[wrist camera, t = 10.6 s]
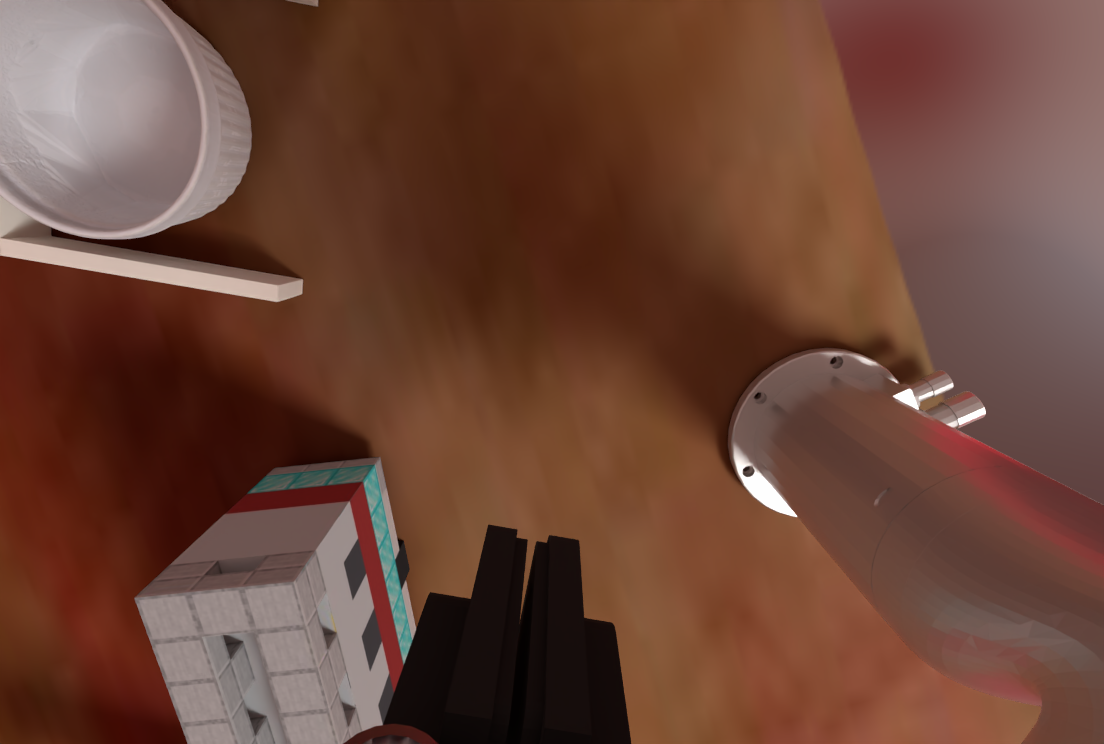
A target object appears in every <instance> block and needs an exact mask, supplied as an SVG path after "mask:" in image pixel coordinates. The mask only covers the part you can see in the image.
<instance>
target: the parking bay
mask: <svg viewBox="0 0 1104 744" xmlns="http://www.w3.org/2000/svg"><path fill="white" fill-rule="evenodd" d="M287 1H292V2H297V3H302V4H307V5H312V6H317V7H318V0H287ZM0 255H2V256H8V257H14V258H20V259H26V260H32V261H38V262H43V263H49V264H55V265H61V266H67V267H73V268H79V269H85V270H91V271H97V272H103V273H109V274H115V275H121V276H127V277H132V278H138V279H144V280H150V281H156V282H162V283H168V284H174V285H180V286H186V287H192V288H198V289H204V290H210V291H216V292H222V293H227V294H233V295H239V296H245V297H251V298H257V299H263V300H269V301H275V302H279V301H282V300H286V299H289V298H292V297H295V296H298V295H301V294H302V290H303V279H299V278H293V277H287V276H281V275H275V274H270V273H264V272H258V271H252V270H246V269H240V268H235V267H229V266H223V265H217V264H211V263H205V262H200V261H194V260H188V259H182V258H176V257H170V256H165V255H159V254H153V253H147V252H141V251H135V250H130V249H124V248H118V247H112V246H106V245H100V244H94V243H89V242H83V241H77V240H71V239H65V238H59V237H54V236H51V227H49V226H47V225H44V224H42V223H40V222H38V221H36V220H35V219H33V218H31V217H29V216H27V215H26V214H24V213H22V212H21V211H20V210H18V209H17V208H15V207H14V206H13V205H11V204H10V203H9V202H7V201H6V200H5V199H4V198H2V197H1V196H0Z"/></svg>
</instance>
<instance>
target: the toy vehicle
mask: <svg viewBox="0 0 1104 744" xmlns="http://www.w3.org/2000/svg"><path fill="white" fill-rule="evenodd" d="M408 572H409V564H408V559H407V554H406V550H405V545H404V541H398V540H397V536H396V531H395V526H394V521H393V516H392V512H391V507H390V502H389V497H388V492H387V488H386V483H385V478H384V473H383V469H382V464H381V459H380V457H374V458H365V459H355V460H346V461H336V462H327V463H317V464H308V465H298V466H289V467H279V468H274V469H273V470H272V471H271V472H270V473H268V474H267V475H266V476H265V477H264V478H263V479H262V480H261V481H260V482H259V483H258V484H257V485H256V486H254V487H253V488H252V489H251V490H250V491H249V492H248V493H247V494H246V495H245V496H244V497H243V498H241V499H240V500H239V501H238V502H237V503H236V504H235V505H234V506H233V507H232V508H231V509H230V510H229V511H227V512H226V513H225V514H224V515H223V516H222V517H221V518H220V519H219V520H218V521H217V522H216V523H214V524H213V525H212V526H211V527H210V528H209V529H208V530H207V531H206V532H205V533H204V534H203V535H202V536H200V537H199V538H198V539H197V540H196V541H195V542H194V543H193V544H192V545H191V546H190V547H189V548H188V549H186V550H185V551H184V552H183V553H182V554H181V555H180V556H179V557H178V558H177V559H176V560H175V561H173V562H172V563H171V564H170V565H169V566H168V567H167V568H166V569H165V570H164V571H163V572H162V573H161V574H159V575H158V576H157V577H156V578H155V579H154V580H153V581H152V582H151V583H150V584H149V585H148V586H146V587H145V588H144V589H143V590H142V591H141V592H140V593H139V594H138V595H137V596H136V597H135V601H136V604H137V607H138V609H139V612H140V615H141V618H142V620H143V623H144V626H145V628H146V631H147V634H148V637H149V639H150V642H151V645H152V648H153V650H154V653H155V656H156V658H157V661H158V664H159V667H160V669H161V672H162V675H163V677H164V680H165V683H166V686H167V688H168V691H169V694H170V697H171V699H172V702H173V705H174V707H175V710H176V713H177V716H178V718H179V721H180V724H181V727H182V729H183V732H184V735H185V737H186V740H187V743H188V744H343V743H345V742H346V741H348V740H349V739H350V738H352V737H353V736H354V735H356V734H357V733H359V732H362V731H364V730H367V729H369V728H372V727H374V726H380V725H383V723H384V720H385V717H386V714H387V711H388V708H389V706H390V703H391V700H392V697H393V694H394V691H395V688H396V686H397V683H398V680H399V677H400V674H401V671H402V668H403V666H404V663H405V660H406V657H407V654H408V651H409V649H410V646H411V643H412V640H413V637H414V634H415V631H416V626H415V622H414V617H413V612H412V607H411V603H410V598H409V593H408V588H407V583H406V577H407V574H408Z"/></svg>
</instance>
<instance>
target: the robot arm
mask: <svg viewBox="0 0 1104 744" xmlns="http://www.w3.org/2000/svg"><path fill="white" fill-rule="evenodd" d="M832 358H833V361H832V362H830V361H831V359H832ZM952 388H953V382H952V380H951V378H950V377H949V376H948V374H947V373H945V372H944V371H937V372H935V373H932V374H930V375H928V376H926V377H924V378H921V379H920V380H919V381H917V382H915V383H913V384H911V385H908V384H906V383H903V384H900V383H899V381H898V380H897V379H896V378H895V377H894V376H893V375H892V374H891V373H890V371H889V370H888V369H886V368H885V367H883V366H882V365H880V364H879V363H878V362H876V361H875V360H872V359H870V358H868V357H866V356H864V355H862V354H859V353H855V352H852V351H849V350H845V349H836V348H820V349H810V350H806V351H803V352H799V353H795V354H792V355H790V356H788V357H786V358H784V359H782V360H780V361H777V362H776V363H774V364H773V365H772V366H770V367H769V368H767V369H766V370H764V371H763V372H762V373H761V374H760V375H759V376H758V377H757V378H756V379H755V380H754V381H753V382H752V383H751V384H750V385H749V386H748V387H747V389H746V390H745V392H744V393H743V394H742V396H741V397H740V399H739V401H738V403H737V405H736V407H735V409H734V412H733V414H732V417H731V421H730V425H729V429H728V450H729V456H730V461H731V464H732V466H733V469H734V471H735V474H736V475H737V477H738V478H739V480H740V481H741V483H742V485H743V486H744V487H745V488H746V489H747V491H748V492H749V493H750V494H751V495H752V497H754V498H755V499H756V500H758V501H759V502H760V503H761V504H763V505H764V506H766V507H768V508H770V509H772V510H774V511H776V512H778V513H781V514H785V515H789V516H792V517H798V518H799V519H800V520H801V522H802V523H803V524H804V525H805V526H806V527H807V529H808V530H809V531H810V532H811V533H812V535H813V536H814V537H815V538H816V539H817V541H818V542H819V543H820V544H821V545H822V546H823V548H824V549H825V550H826V551H827V552H828V554H829V555H830V556H831V557H832V558H833V560H834V561H835V562H836V563H837V564H838V566H839V567H840V568H841V569H842V570H843V571H844V573H845V574H846V575H847V576H848V577H849V579H850V580H851V581H852V582H853V583H854V585H855V586H856V587H857V588H858V589H859V590H860V592H861V593H862V594H863V595H864V596H865V598H866V599H867V600H868V601H869V602H870V604H871V605H872V606H873V607H874V608H875V610H876V611H877V612H878V613H879V614H880V615H881V617H882V618H883V619H884V620H885V621H886V622H887V623H888V624H889V625H890V627H891V628H892V629H893V630H894V631H895V633H896V634H897V635H898V636H899V637H900V638H901V640H902V641H903V642H904V643H905V644H906V645H907V646H908V647H909V648H910V649H911V650H912V651H913V652H914V653H915V654H916V655H917V656H918V657H919V658H920V659H922V660H923V661H924V662H925V663H927V664H928V665H929V666H931V667H932V668H933V669H935V670H936V671H938V672H940V673H941V674H943V675H945V676H946V677H948V678H950V679H951V680H953V681H955V682H957V683H959V684H962V685H964V686H967V687H969V688H972V689H975V690H977V691H980V692H983V693H986V694H989V695H992V696H996V697H1000V698H1004V699H1008V700H1012V701H1016V702H1021V703H1025V704H1031V705H1036V706H1041V713H1040V715H1039V718H1038V720H1037V723H1036V724H1035V726H1034V727H1033V728H1032V730H1031V731H1030V733H1029V734H1028V735H1027V737H1026V738H1025V740H1024V741H1023V742H1022V744H1104V505H1103V504H1101V503H1098V502H1096V501H1094V500H1092V499H1090V498H1088V497H1087V496H1084V495H1083V494H1081V493H1079V492H1077V491H1075V490H1073V489H1071V488H1069V487H1067V486H1065V485H1063V484H1061V483H1059V482H1057V481H1055V480H1053V479H1051V478H1050V477H1048V476H1045V475H1043V474H1041V473H1039V472H1038V471H1036V470H1034V469H1032V468H1030V467H1028V466H1026V465H1024V464H1022V463H1020V462H1018V461H1016V460H1014V459H1012V458H1011V457H1009V456H1007V455H1005V454H1003V453H1001V452H999V451H997V450H995V449H993V448H991V447H989V446H987V445H985V444H984V443H982V442H980V441H978V440H976V439H974V438H972V437H970V436H968V435H966V434H964V433H962V432H960V431H958V430H956V429H955V428H960V427H962V426H964V425H966V424H969V423H971V422H973V421H976V420H978V419H980V418H982V417H984V416H985V408H984V406H983V404H982V403H981V401H980V400H979V399H978V398H977V397H976V396H975V395H974V394H972V393H971V392H967V391H965V392H962V393H960V394H958V395H956V396H953V397H951V398H949V399H947V400H945V401H942V402H940V403H939V404H938V405H937V406H935V407H932V408H930V409H928V410H926V411H923V410H921V409H919V408H918V407H919V406H920V402H921V401H924V400H926V399H928V398H930V397H935V396H937V395H939V394H942V393H944V392H946V391H948V390H951V389H952ZM758 392H759V395H758V396H757V397H754V396H755V395H756V394H757V393H758ZM746 466H747V467H746ZM745 467H746V468H745ZM744 468H745V469H744ZM516 537H517V529H511V528H505V527H499V526H494V525H488V528H487V532H486V537H485V541H484V545H483V550H482V554H481V558H480V562H479V567H478V571H477V575H476V580H475V584H474V588H473V592H472V597H471V599H467V598H461V597H455V596H449V595H443V594H437V593H431V592H430V594H429V595H428V598H427V600H426V603H425V606H424V609H423V611H422V614H421V617H420V620H419V623H418V626H417V629H416V631H415V634H414V637H413V640H412V643H411V646H410V649H409V651H408V654H407V657H406V660H405V663H404V666H403V668H402V671H401V674H400V677H399V680H398V683H397V686H396V688H395V691H394V694H393V697H392V700H391V703H390V706H389V708H388V711H387V714H386V717H385V720H384V723H383V725H380V726H374V727H372V728H369V729H367V730H364V731H362V732H359V733H357V734H356V735H354V736H353V737H352V738H350V739H349V740H348V741H346V742H345V743H343V744H631V738H630V731H629V724H628V716H627V709H626V702H625V695H624V688H623V680H622V673H621V666H620V659H619V652H618V645H617V637H616V631H615V627H614V625H613V623H611V622H605V621H599V620H593V619H587V618H584V609H583V594H582V578H581V562H580V547H579V540H575V539H569V538H563V537H557V536H552V535H549V537H548V541H547V543H544V542H538V541H537V542H536V545H535V550H534V555H533V560H532V565H531V570H530V575H529V580H528V585H527V590H526V594H525V599H524V604H523V609H522V614H521V619H520V613H521V602H522V592H523V582H524V572H525V562H526V552H527V541H528V540H527V539H521V538H516ZM519 623H520V624H519Z"/></svg>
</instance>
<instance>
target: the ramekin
mask: <svg viewBox="0 0 1104 744" xmlns="http://www.w3.org/2000/svg"><path fill="white" fill-rule="evenodd" d="M251 139H252V132H251V119H250V116H249V110H248V106H247V104H246V101H245V97H244V94H243V92H242V90H241V88H240V85H239V82H238V81H237V79H236V78H235V77H234V74H233V72H232V70H231V69H230V67H229V66H228V65H227V64H226V63H225V61H224V59H223V58H222V56H221V55H220V54H219V53H218V52H217V51H216V50H215V49H214V48H213V47H212V45H211V44H210V43H209V42H208V41H207V40H206V39H205V38H204V37H203V36H201V35H200V34H199V33H198V32H197V31H196V30H195V29H193V28H192V27H191V26H190V25H189V24H187V23H186V22H185V21H184V20H182V19H181V18H180V17H179V16H177V15H176V14H175V13H173V12H172V10H171V9H170V8H169V7H168V6H167V5H166V4H165V3H164V2H163V1H161V0H0V196H1V197H2V198H4V199H5V200H6V201H7V202H9V203H10V204H11V205H13V206H14V207H15V208H17V209H18V210H20V211H21V212H22V213H24V214H26V215H27V216H29V217H31V218H33V219H35V220H36V221H38V222H40V223H42V224H44V225H47V226H49V227H52V228H54V229H56V230H59V231H62V232H65V233H69V234H72V235H76V236H81V237H86V238H94V239H132V238H139V237H144V236H148V235H151V234H155V233H158V232H160V231H162V230H165V229H167V228H169V227H170V226H173V225H177V224H181V223H185V222H188V221H190V220H194V219H197V218H200V217H202V216H204V215H205V214H206V213H208V212H211V211H213V210H215V209H216V208H217V207H218V205H220V204H222V203H224V202H225V201H226V199H227V198H228V197H229V196H231V195H232V194H233V193H234V190H235V188H236V186H237V185H239V184H240V182H241V179H242V176H243V175H244V174H245V172H246V166H247V163H248V161H249V157H250V151H251V146H252V144H251Z"/></svg>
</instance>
